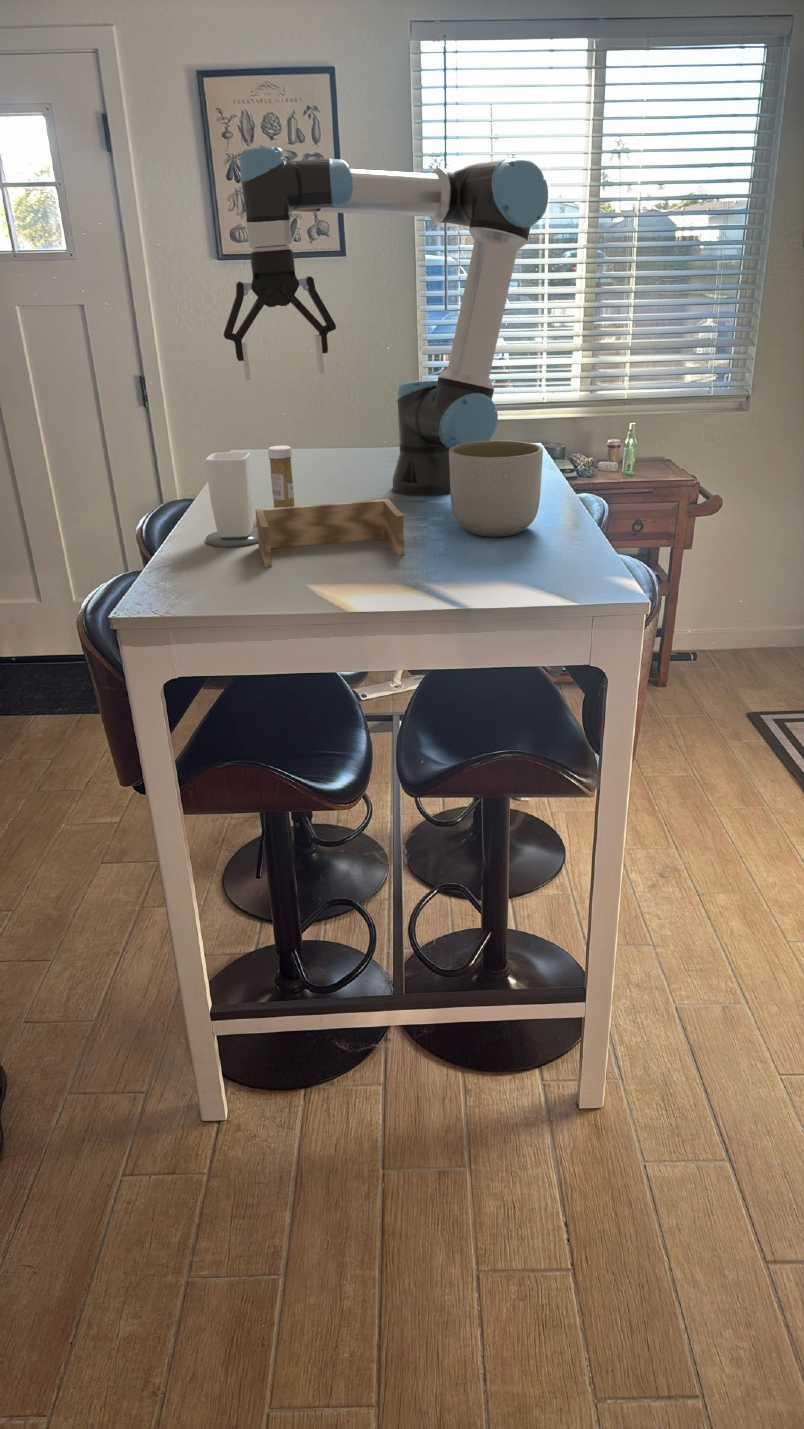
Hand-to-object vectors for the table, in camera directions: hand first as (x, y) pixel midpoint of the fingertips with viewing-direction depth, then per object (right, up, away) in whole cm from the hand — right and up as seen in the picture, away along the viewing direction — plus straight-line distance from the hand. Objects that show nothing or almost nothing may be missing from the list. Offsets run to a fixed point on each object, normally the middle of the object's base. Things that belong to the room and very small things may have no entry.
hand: (284, 376), depth 183 cm
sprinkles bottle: (-2, -21, +21) cm, 30 cm away
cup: (-10, -29, +3) cm, 31 cm away
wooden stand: (+9, -33, -6) cm, 35 cm away
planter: (+39, -28, +4) cm, 48 cm away
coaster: (-10, -29, +4) cm, 31 cm away
